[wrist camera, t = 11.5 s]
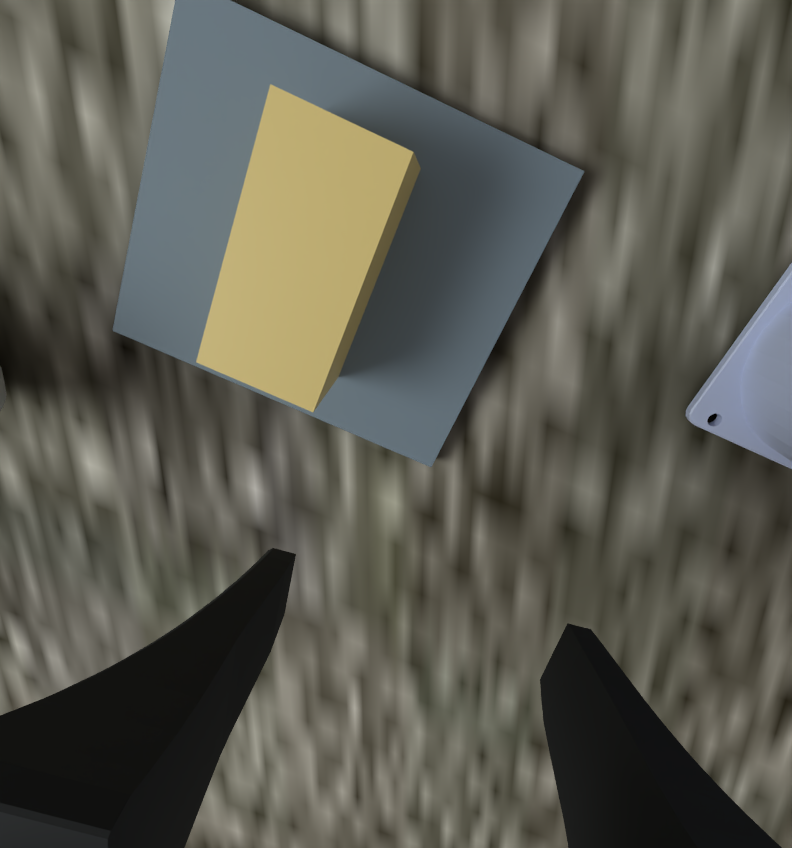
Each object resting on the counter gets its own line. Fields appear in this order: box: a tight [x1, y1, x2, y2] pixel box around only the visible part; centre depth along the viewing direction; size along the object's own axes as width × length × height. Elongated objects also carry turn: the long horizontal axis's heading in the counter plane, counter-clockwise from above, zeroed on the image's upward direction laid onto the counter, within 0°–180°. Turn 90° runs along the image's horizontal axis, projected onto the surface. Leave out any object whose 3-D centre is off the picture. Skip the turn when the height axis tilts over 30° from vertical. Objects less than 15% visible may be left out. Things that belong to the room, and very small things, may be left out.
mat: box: [112, 0, 584, 467], centre depth 18 cm, size 14×12×1 cm
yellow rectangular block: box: [196, 84, 421, 412], centre depth 16 cm, size 8×4×4 cm, turn 157°
